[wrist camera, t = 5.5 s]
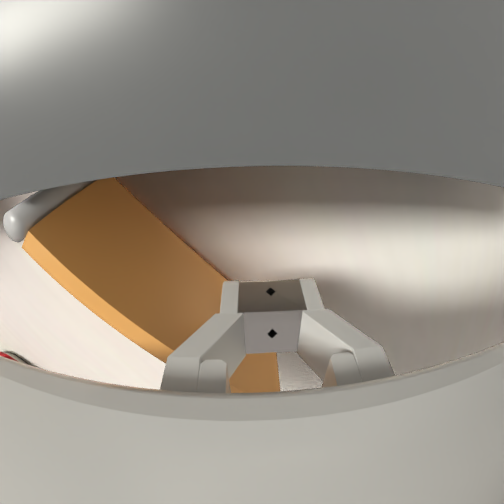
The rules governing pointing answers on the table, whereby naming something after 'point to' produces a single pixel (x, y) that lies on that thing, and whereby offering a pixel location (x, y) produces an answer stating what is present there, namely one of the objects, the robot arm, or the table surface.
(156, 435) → the robot arm
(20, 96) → the block
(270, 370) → the side door
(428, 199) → the table surface
